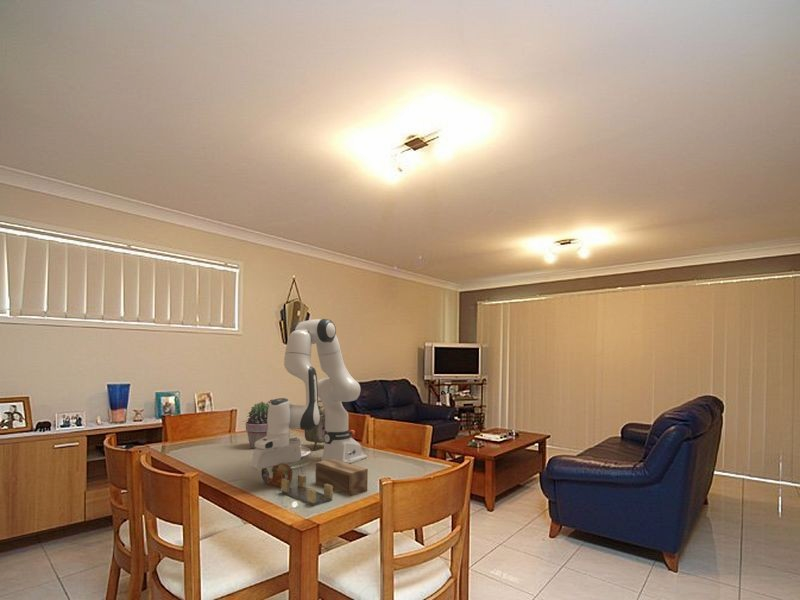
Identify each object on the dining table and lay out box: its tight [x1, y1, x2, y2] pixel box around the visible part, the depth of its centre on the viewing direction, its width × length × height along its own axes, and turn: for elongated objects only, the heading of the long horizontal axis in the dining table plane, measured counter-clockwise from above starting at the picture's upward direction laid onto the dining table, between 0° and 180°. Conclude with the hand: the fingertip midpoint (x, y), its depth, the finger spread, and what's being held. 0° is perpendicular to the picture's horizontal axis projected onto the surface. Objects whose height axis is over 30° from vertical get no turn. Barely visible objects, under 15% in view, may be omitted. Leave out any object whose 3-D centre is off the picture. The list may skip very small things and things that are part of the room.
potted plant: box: [241, 399, 273, 450], centre depth 243 cm, size 18×20×25 cm
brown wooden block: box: [314, 459, 369, 496], centre depth 175 cm, size 8×22×8 cm, turn 46°
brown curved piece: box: [261, 464, 293, 488], centre depth 177 cm, size 15×3×8 cm, turn 58°
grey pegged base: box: [280, 474, 334, 507], centre depth 164 cm, size 8×20×5 cm, turn 46°
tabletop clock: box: [304, 400, 325, 451], centre depth 242 cm, size 14×9×25 cm, turn 149°
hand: (276, 476), depth 177 cm, fingers closed on brown curved piece, 3 cm apart
